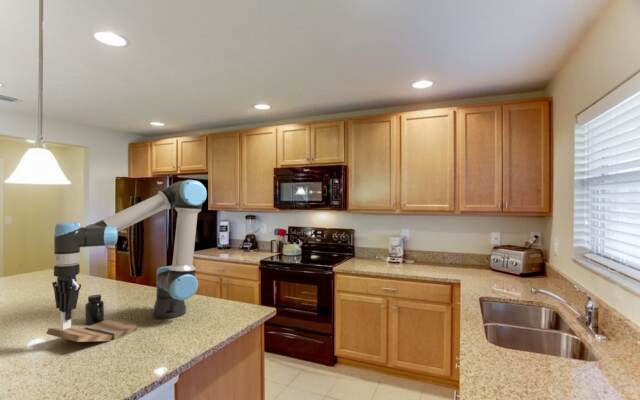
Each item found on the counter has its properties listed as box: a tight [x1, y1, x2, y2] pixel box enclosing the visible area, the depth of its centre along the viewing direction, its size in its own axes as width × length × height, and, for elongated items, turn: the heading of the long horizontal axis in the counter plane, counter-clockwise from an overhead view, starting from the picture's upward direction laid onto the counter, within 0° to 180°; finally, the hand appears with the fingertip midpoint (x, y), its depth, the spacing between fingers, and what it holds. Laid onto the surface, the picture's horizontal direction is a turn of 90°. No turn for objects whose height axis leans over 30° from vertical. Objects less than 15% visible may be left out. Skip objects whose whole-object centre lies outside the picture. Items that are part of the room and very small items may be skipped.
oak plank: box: [46, 327, 112, 343], centre depth 124 cm, size 13×18×2 cm
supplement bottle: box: [84, 294, 105, 326], centre depth 145 cm, size 7×7×12 cm
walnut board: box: [83, 319, 138, 341], centre depth 135 cm, size 10×18×2 cm, turn 68°
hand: (65, 328), depth 120 cm, fingers closed
